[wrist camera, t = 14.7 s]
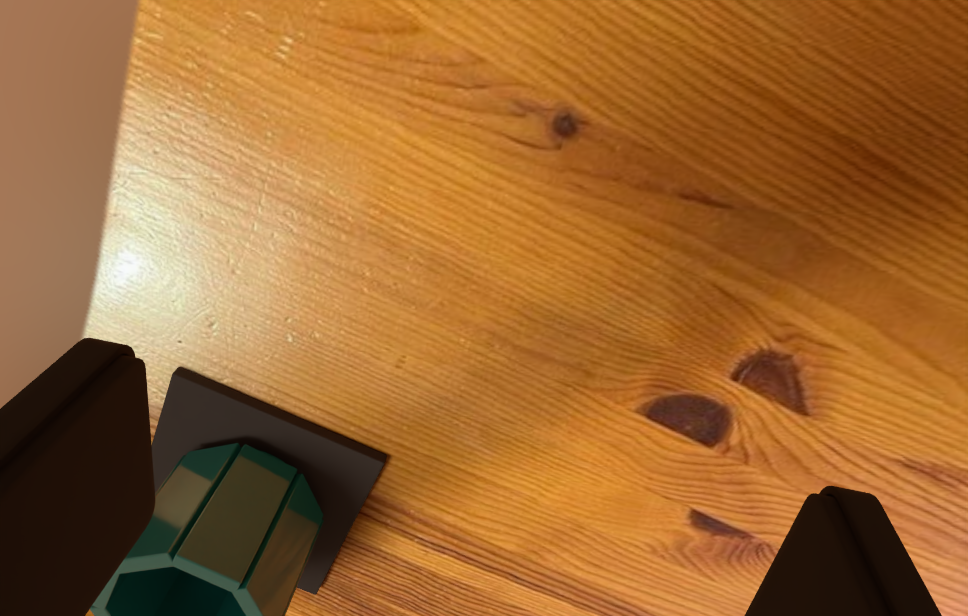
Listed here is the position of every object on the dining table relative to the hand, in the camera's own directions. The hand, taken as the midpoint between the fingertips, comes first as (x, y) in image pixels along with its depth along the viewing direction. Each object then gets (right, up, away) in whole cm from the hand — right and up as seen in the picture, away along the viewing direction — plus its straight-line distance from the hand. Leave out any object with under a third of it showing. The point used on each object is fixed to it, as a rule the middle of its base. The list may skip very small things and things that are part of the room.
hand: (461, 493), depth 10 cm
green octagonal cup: (-11, -6, +24) cm, 27 cm away
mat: (-11, -6, +24) cm, 27 cm away
